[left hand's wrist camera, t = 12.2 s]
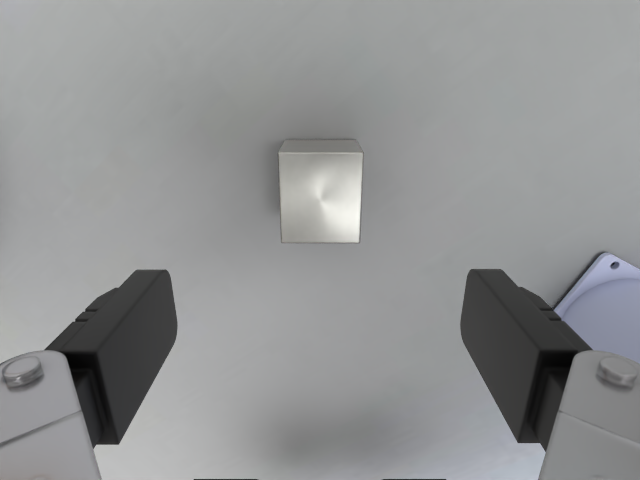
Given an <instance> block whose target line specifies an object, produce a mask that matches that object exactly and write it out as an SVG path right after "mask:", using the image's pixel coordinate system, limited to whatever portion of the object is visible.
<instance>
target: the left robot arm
mask: <svg viewBox="0 0 640 480" xmlns="http://www.w3.org/2000/svg"><path fill="white" fill-rule="evenodd" d="M176 335H177V317H176V310H175V303H174V297H173V290H172V283H171V277H170V274H169V272H168V271H167V270H136V271H135V272H134V273H133V274H132V275H131V276H130V277H129V278H128V279H127V280H126V281H125V282H124V283H123V284H122V285H121V286H120V287H119V288H114V289H112V290H110V291H109V292H107V293H105V294H103V295H101V296H100V297H98V298H97V299H96V300H94V301H93V302H92V303H91V304H90V305H89V306H88V307H87V308H86V309H85V312H82V313H81V314H80V315H79V316H78V317H77V318H76V319H75V322H72V323H71V324H70V325H69V326H68V327H67V328H66V329H65V330H64V331H63V332H62V333H61V334H60V335H59V336H58V337H57V338H56V339H55V340H54V341H53V342H52V343H51V344H50V345H49V346H48V347H47V348H46V349H45V350H42V351H35V352H30V353H26V354H22V355H19V356H16V357H14V358H11V359H9V360H7V361H5V362H3V363H1V364H0V480H102V478H101V475H100V471H99V468H98V464H97V461H96V457H95V454H94V451H93V449H94V447H95V446H96V444H119V443H120V441H121V440H122V438H123V436H124V434H125V432H126V430H127V429H128V427H129V425H130V423H131V421H132V420H133V418H134V416H135V414H136V412H137V410H138V409H139V407H140V405H141V403H142V401H143V400H144V398H145V396H146V394H147V392H148V390H149V389H150V387H151V385H152V383H153V381H154V379H155V378H156V376H157V374H158V372H159V370H160V369H161V367H162V365H163V363H164V361H165V359H166V358H167V356H168V354H169V352H170V350H171V349H172V347H173V345H174V343H175V340H176ZM461 335H462V339H463V342H464V345H465V346H466V348H467V350H468V352H469V354H470V356H471V357H472V359H473V361H474V363H475V365H476V367H477V368H478V370H479V372H480V374H481V376H482V378H483V380H484V381H485V383H486V385H487V387H488V389H489V391H490V392H491V394H492V396H493V398H494V400H495V402H496V403H497V405H498V407H499V409H500V411H501V413H502V415H503V416H504V418H505V420H506V422H507V424H508V426H509V427H510V429H511V431H512V433H513V435H514V437H515V438H516V440H517V442H518V443H541V445H542V447H543V448H544V450H545V452H546V454H545V457H544V461H543V464H542V468H541V471H540V475H539V478H538V480H640V364H639V363H637V362H635V361H633V360H631V359H629V358H626V357H624V356H621V355H618V354H614V353H610V352H605V351H598V350H593V349H592V348H591V347H590V346H589V345H588V344H587V343H586V342H585V341H584V340H583V339H582V338H581V337H580V336H579V335H578V334H577V333H576V332H575V331H574V330H573V329H572V328H571V327H570V326H569V325H568V324H567V323H566V322H565V321H562V320H561V317H560V316H559V315H558V314H557V313H556V312H555V311H552V308H551V307H550V306H549V305H548V304H546V303H545V302H544V301H543V300H542V299H541V298H540V297H539V296H537V295H535V294H534V293H532V292H530V291H528V290H526V289H525V288H523V287H518V286H517V285H516V284H515V283H514V282H513V281H512V280H511V279H510V278H509V277H508V276H507V275H506V274H505V272H504V271H502V270H501V269H471V270H470V271H469V273H468V276H467V281H466V288H465V294H464V301H463V308H462V315H461ZM194 480H257V479H194ZM383 480H446V479H383Z"/></svg>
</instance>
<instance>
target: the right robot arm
mask: <svg viewBox="0 0 640 480" xmlns="http://www.w3.org/2000/svg"><path fill="white" fill-rule="evenodd" d="M613 262H615V264H614V265H613V266H611V264H612V263H613ZM610 266H611V267H610ZM554 311H555V312H556V313H557V314H558V315H559V316H560V317H561V320H562V321H565V322H566V323H567V324H568V325H569V326H570V327H571V328H572V329H573V330H574V331H575V332H576V333H577V334H578V335H579V336H580V337H581V338H582V339H583V340H584V341H585V342H586V343H587V344H588V345H589V346H590V347H591V348H592V349H593V350H598V351H605V352H610V353H614V354H618V355H621V356H624V357H626V358H629V359H631V360H633V361H635V362H637V363H639V364H640V269H638V268H637V267H635V266H633V265H631V264H629V263H627V262H626V261H624V260H622V259H620V258H618V257H616V256H614V255H613V254H611V253H603V254H601V255H600V256H599V257H598V258H597V259H596V260H595V262H594V263H593V264H592V265H591V266H590V268H589V269H588V270H587V271H586V272H585V274H584V275H583V276H582V277H581V278H580V280H579V281H578V282H577V283H576V284H575V286H574V287H573V288H572V289H571V290H570V292H569V293H568V294H567V295H566V296H565V298H564V299H563V300H562V301H561V302H560V303H559V305H558V306H557V307H556V308H555V309H554Z"/></svg>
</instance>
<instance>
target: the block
mask: <svg viewBox="0 0 640 480" xmlns="http://www.w3.org/2000/svg"><path fill="white" fill-rule="evenodd" d="M363 156H364V153H363V151H362V149H361V147H360V146H359V144H358V142H357V140H285V141H284V143H283V145H282V146H281V148H280V150H279V152H278V172H279V199H280V225H281V243H360V232H361V207H362V181H363Z"/></svg>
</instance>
